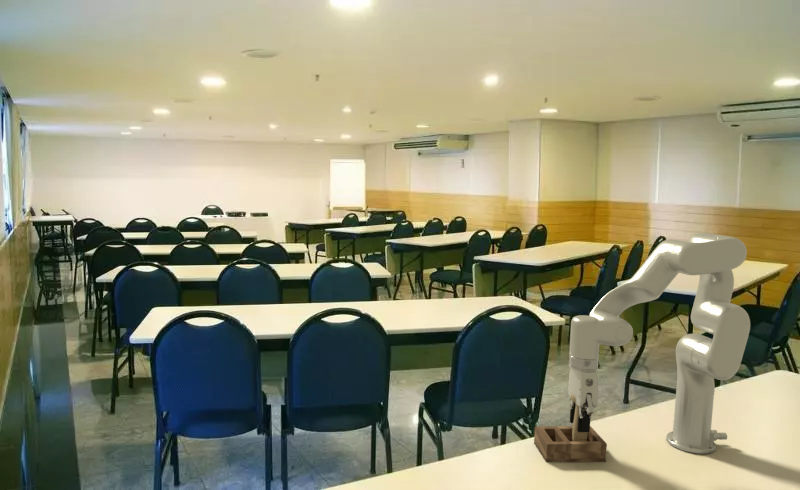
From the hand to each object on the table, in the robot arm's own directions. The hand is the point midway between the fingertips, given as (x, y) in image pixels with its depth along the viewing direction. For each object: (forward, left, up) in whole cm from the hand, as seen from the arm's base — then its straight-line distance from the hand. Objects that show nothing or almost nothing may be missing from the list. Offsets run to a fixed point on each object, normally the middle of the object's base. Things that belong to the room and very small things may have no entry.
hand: (579, 426), depth 160 cm
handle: (0, 0, -7) cm, 7 cm away
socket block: (+3, 0, -7) cm, 8 cm away
